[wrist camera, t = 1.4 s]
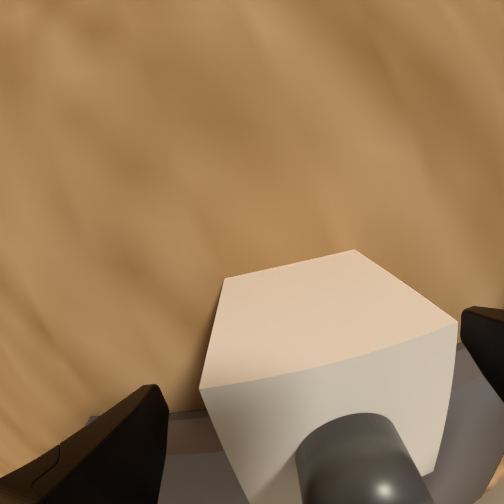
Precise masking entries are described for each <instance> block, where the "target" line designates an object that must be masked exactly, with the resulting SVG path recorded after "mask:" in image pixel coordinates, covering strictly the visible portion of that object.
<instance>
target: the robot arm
mask: <svg viewBox="0 0 504 504" xmlns="http://www.w3.org/2000/svg"><path fill="white" fill-rule="evenodd" d="M460 337H461V341H462V343H463V344H464V346H465V347H466V349H467V351H468V352H469V354H470V355H471V357H472V358H473V360H474V362H475V363H476V365H477V366H478V368H479V370H480V371H481V373H482V374H483V376H484V377H485V379H486V380H487V381H488V383H489V384H490V385H491V387H492V388H493V389H494V391H495V392H496V393H497V395H498V396H499V397H500V399H501V400H502V402H503V403H504V310H503V309H494V308H486V307H478V306H472V307H470V308H467V309H465V310H463V312H462V315H461V330H460ZM168 422H169V408H168V405H167V403H166V401H165V399H164V397H163V394H162V392H161V390H160V388H159V387H158V385H156V384H150V385H143V386H141V387H140V388H139V389H137V390H136V391H135V392H133V393H132V394H130V395H129V396H128V397H126V398H125V399H123V400H122V401H121V402H119V403H118V404H116V405H115V406H114V407H112V408H111V409H109V410H108V411H107V412H105V413H104V414H102V415H101V416H99V417H98V418H97V419H95V420H94V421H92V422H91V423H89V424H88V425H86V426H85V427H84V428H82V429H81V430H79V431H78V432H76V433H75V434H73V435H72V436H70V437H69V438H67V439H66V440H64V441H63V442H62V443H60V445H57V446H55V447H54V448H52V449H51V450H49V451H48V452H46V453H45V454H43V455H41V456H40V457H38V458H37V459H35V460H33V461H31V462H30V463H28V464H26V465H24V466H22V467H21V468H19V469H17V470H15V471H13V472H11V473H9V474H7V475H5V476H3V477H1V478H0V504H158V498H159V493H160V487H161V481H162V476H163V471H164V465H165V459H166V451H167V436H168Z"/></svg>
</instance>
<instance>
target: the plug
mask: <svg viewBox="0 0 504 504" xmlns="http://www.w3.org/2000/svg"><path fill="white" fill-rule="evenodd" d="M457 331H458V322H457V321H456V320H455V319H453V318H452V317H451V316H449V315H448V314H447V313H445V312H444V311H443V310H441V309H440V308H438V307H437V306H436V305H434V304H433V303H432V302H430V301H429V300H427V299H426V298H425V297H423V296H422V295H420V294H419V293H418V292H416V291H415V290H413V289H412V288H410V287H409V286H408V285H406V284H405V283H403V282H402V281H400V280H399V279H397V278H396V277H395V276H393V275H392V274H390V273H389V272H387V271H386V270H384V269H383V268H381V267H380V266H378V265H377V264H376V263H374V262H373V261H371V260H370V259H368V258H367V257H365V256H364V255H362V254H361V253H359V252H358V251H356V250H350V251H346V252H341V253H337V254H333V255H328V256H324V257H320V258H315V259H311V260H307V261H302V262H298V263H293V264H289V265H284V266H280V267H275V268H271V269H266V270H262V271H257V272H253V273H248V274H243V275H239V276H234V277H230V278H225V279H224V283H223V287H222V291H221V295H220V299H219V304H218V308H217V312H216V316H215V321H214V325H213V329H212V333H211V338H210V342H209V346H208V351H207V355H206V359H205V364H204V368H203V372H202V377H201V381H200V386H199V391H200V394H201V396H202V399H203V401H204V404H205V406H206V409H207V411H208V414H209V416H210V418H211V421H212V423H213V426H214V428H215V430H216V433H217V435H218V437H219V439H220V442H221V444H222V446H223V449H224V451H225V453H226V455H227V457H228V460H229V462H230V464H231V466H232V468H233V470H234V472H235V475H236V477H237V479H238V481H239V483H240V485H241V487H242V489H243V491H244V493H245V495H246V497H247V499H248V501H249V503H250V504H434V500H433V498H432V496H431V494H430V492H429V490H428V488H427V486H426V484H425V482H424V481H423V479H422V476H424V475H426V474H429V473H431V472H433V470H434V467H435V463H436V459H437V456H438V452H439V448H440V444H441V440H442V435H443V431H444V426H445V421H446V416H447V411H448V405H449V400H450V394H451V387H452V380H453V373H454V364H455V355H456V344H457Z"/></svg>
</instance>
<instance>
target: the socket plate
mask: <svg viewBox="0 0 504 504" xmlns="http://www.w3.org/2000/svg"><path fill="white" fill-rule="evenodd" d="M98 417H99V416H91V417H90V418H89V420H88V422H87V423H86V425H88V424H89V423H91V422H92V421H94V420H95V419H97V418H98ZM86 425H85V426H86ZM503 455H504V403H503V402H502V400H501V399H500V397H499V396H498V395H497V393H496V392H495V391H494V389H493V388H492V387H491V385H490V384H489V383H488V381H487V380H486V379H485V377H484V376H483V374H482V373H481V371H480V370H479V368H478V366H477V365H476V363H475V362H474V360H473V358H472V357H471V355H470V354H469V352H468V351H467V349H466V347H465V346H464V344H463V343H462V342H461V343H458V344H456V355H455V364H454V373H453V380H452V387H451V394H450V400H449V405H448V411H447V416H446V421H445V426H444V431H443V435H442V440H441V444H440V448H439V452H438V456H437V459H436V463H435V467H434V470H433V472H431V473H429V474H426V475H424V476H422V479H423V481H424V482H425V484H426V486H427V488H428V490H429V492H430V494H431V496H432V498H433V500H434V504H471V503H473V502H475V501H477V500H478V499H480V498H481V497H482V495H483V494H484V492H485V490H486V488H487V486H488V485H489V483H490V481H491V479H492V477H493V475H494V473H495V471H496V469H497V467H498V465H499V463H500V461H501V459H502V457H503ZM158 504H250V503H249V501H248V499H247V497H246V495H245V493H244V491H243V489H242V487H241V485H240V483H239V481H238V479H237V477H236V475H235V472H234V470H233V468H232V466H231V464H230V462H229V460H228V457H227V455H226V453H225V451H224V449H223V446H222V444H221V442H220V439H219V437H218V435H217V433H216V430H215V428H214V426H213V423H212V421H211V418H210V416H209V414H208V411H207V410H199V411H190V412H179V413H169V422H168V436H167V451H166V459H165V465H164V471H163V476H162V481H161V487H160V493H159V498H158Z"/></svg>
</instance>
